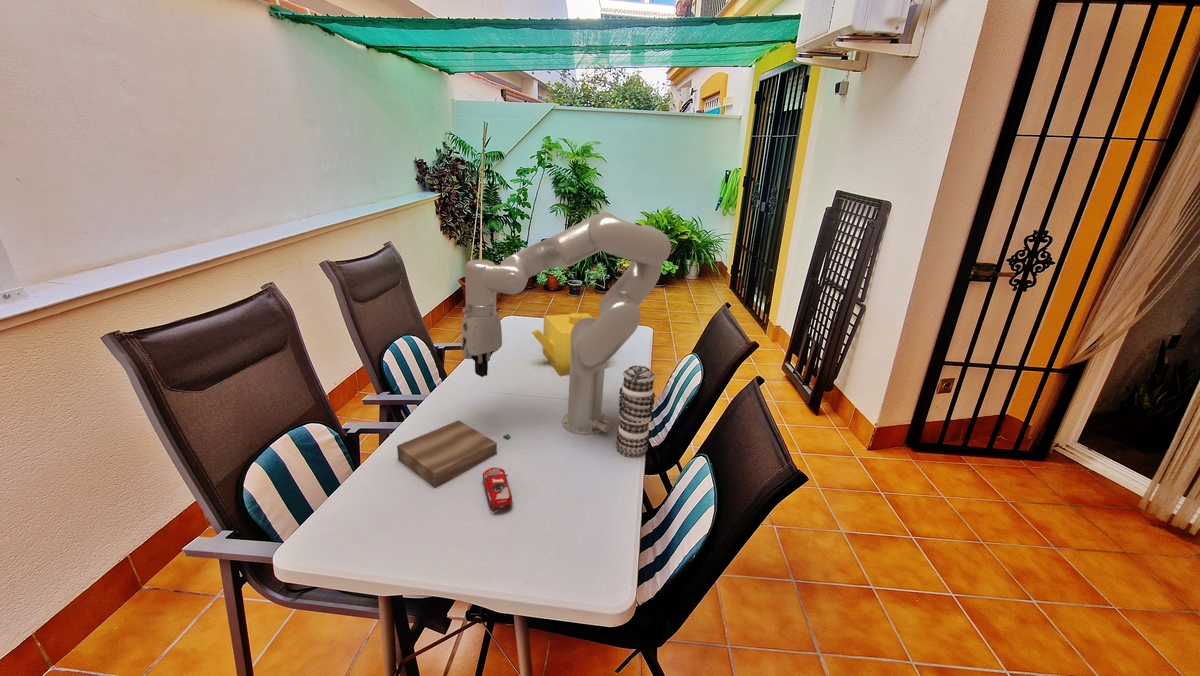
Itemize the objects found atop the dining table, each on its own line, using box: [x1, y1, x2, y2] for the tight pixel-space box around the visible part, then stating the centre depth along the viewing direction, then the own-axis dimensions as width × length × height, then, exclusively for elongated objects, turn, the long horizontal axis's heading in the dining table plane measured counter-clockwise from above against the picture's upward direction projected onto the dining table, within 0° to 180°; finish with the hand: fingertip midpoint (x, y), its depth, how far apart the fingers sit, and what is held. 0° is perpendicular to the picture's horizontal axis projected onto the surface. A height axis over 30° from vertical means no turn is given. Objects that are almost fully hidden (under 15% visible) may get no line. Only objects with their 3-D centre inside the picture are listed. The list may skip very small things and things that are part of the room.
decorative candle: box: [615, 365, 656, 459], centre depth 126 cm, size 9×9×25 cm
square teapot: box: [531, 312, 607, 377], centre depth 176 cm, size 35×30×21 cm
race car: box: [482, 467, 513, 511], centre depth 112 cm, size 13×5×4 cm, turn 20°
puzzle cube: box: [502, 434, 511, 441], centre depth 132 cm, size 4×3×2 cm, turn 143°
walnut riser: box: [396, 419, 498, 489], centre depth 124 cm, size 16×18×4 cm
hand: (481, 374), depth 131 cm, fingers closed
